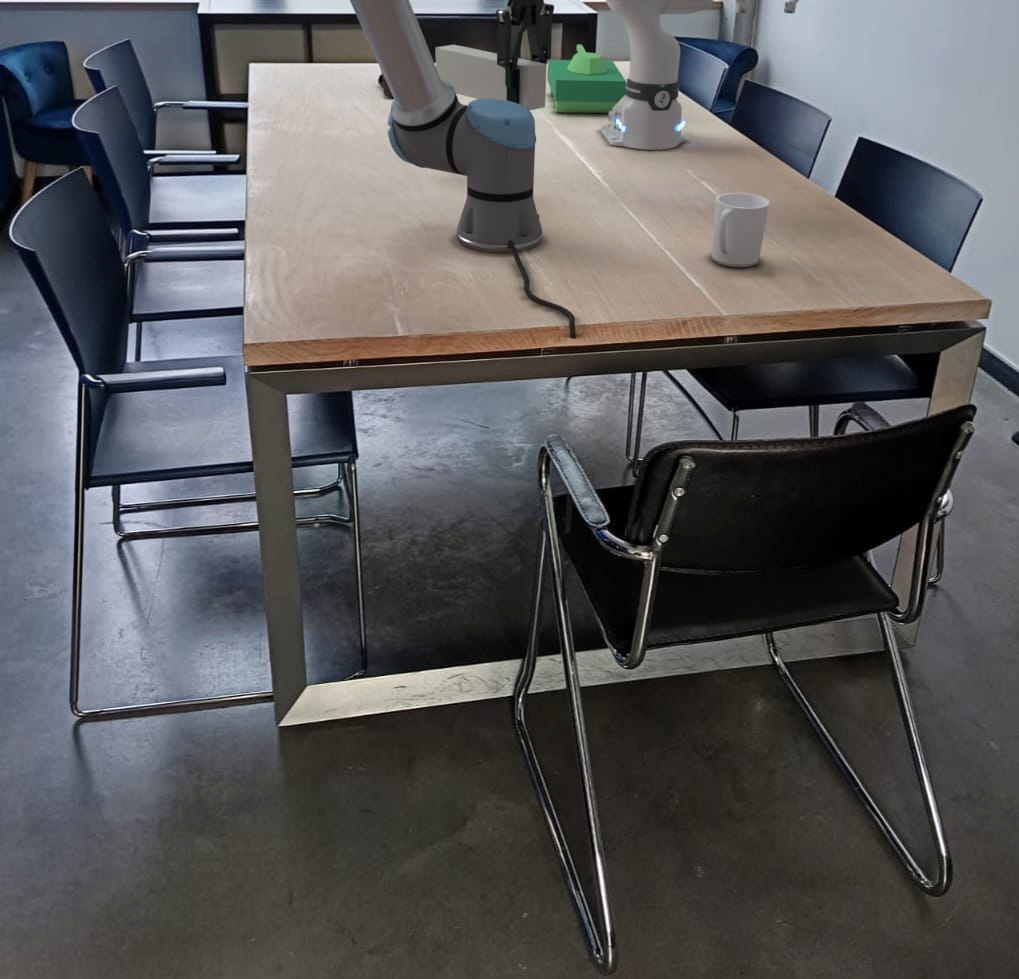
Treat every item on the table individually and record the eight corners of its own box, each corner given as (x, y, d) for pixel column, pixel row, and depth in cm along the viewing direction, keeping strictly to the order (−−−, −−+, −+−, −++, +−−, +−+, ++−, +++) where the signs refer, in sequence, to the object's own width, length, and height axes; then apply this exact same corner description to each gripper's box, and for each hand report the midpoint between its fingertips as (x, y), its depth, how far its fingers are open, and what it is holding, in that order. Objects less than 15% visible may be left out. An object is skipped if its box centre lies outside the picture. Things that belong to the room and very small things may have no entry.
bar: (545, 107, 212) (546, 64, 208) (526, 111, 209) (528, 67, 205) (454, 85, 227) (454, 44, 223) (435, 88, 224) (435, 47, 220)
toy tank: (609, 41, 303) (627, 65, 273) (606, 87, 310) (623, 116, 280) (546, 39, 302) (556, 64, 272) (544, 86, 309) (554, 115, 279)
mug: (725, 247, 195) (732, 189, 189) (770, 259, 190) (779, 200, 184) (692, 263, 187) (699, 203, 182) (739, 275, 183) (747, 215, 177)
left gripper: (545, -36, 208) (541, 92, 220) (476, -28, 197) (476, 105, 209) (574, -32, 203) (569, 98, 216) (506, -24, 192) (504, 112, 205)
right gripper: (824, -72, 199) (812, 10, 207) (716, -73, 197) (707, 10, 204) (838, -69, 194) (824, 15, 201) (727, -70, 191) (717, 15, 199)
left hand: (523, 101), depth 212 cm, fingers closed on bar, 5 cm apart
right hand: (764, 12), depth 203 cm, fingers open, 8 cm apart
